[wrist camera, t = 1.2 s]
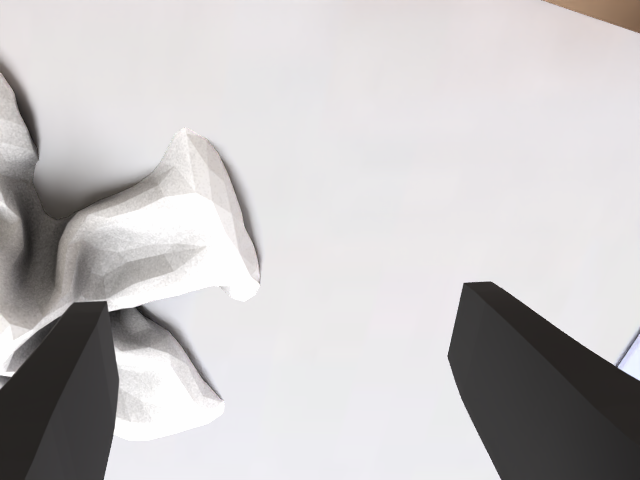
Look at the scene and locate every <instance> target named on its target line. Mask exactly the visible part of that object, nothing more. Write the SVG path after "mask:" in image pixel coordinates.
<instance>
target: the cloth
mask: <svg viewBox="0 0 640 480" xmlns="http://www.w3.org/2000/svg"><path fill="white" fill-rule="evenodd" d="M38 160H39V158H38V150H37V147H36V146H35V144H34V143H33V141H32V139H31V136H30V134H29V131H28V129H27V127H26V125H25V123H24V121H23V119H22V117H21V115H20V113H19V110H18V106H17V102H16V98H15V94H14V92H13V90H12V89H11V87H10V86H9V84H8V83H7V81H6V80H5V78H4V77H3V75H2V74H1V72H0V389H1V388H2V387H3V386H4V384H5V383H6V382H7V381H8V380H9V379H10V378H11V377H12V375H13V374H14V373H15V372H16V371H17V370H18V369H19V367H20V366H21V365H22V364H23V363H24V362H25V360H26V359H27V358H28V357H29V356H30V355H31V353H32V352H33V351H34V350H35V349H36V347H37V346H38V345H39V344H40V343H41V341H42V340H43V339H44V338H45V336H46V335H47V334H48V333H49V331H50V330H51V329H52V328H53V326H54V325H55V324H56V323H57V321H58V320H59V319H60V317H61V316H62V315H63V314H64V312H65V311H66V310H67V308H68V307H69V306H70V305H71V304H72V303H73V302H93V301H107V304H108V311H109V317H110V323H111V330H112V336H113V342H114V349H115V355H116V361H117V368H118V374H119V390H118V401H117V412H116V421H115V429H114V434H115V435H117V436H119V437H122V438H125V439H127V440H151V439H155V438H159V437H163V436H167V435H171V434H174V433H178V432H181V431H184V430H188V429H191V428H195V427H198V426H201V425H205V424H208V423H210V422H211V421H213V420H214V419H216V418H217V417H218V416H220V415H221V414H222V413H224V403H225V401H224V400H222V399H220V398H219V397H218V395H217V394H216V393H215V392H214V391H213V390H212V389H211V388H210V386H209V385H208V384H207V383H206V382H204V381H203V380H202V378H201V376H200V375H199V373H198V372H197V370H196V368H195V367H194V365H193V364H192V362H191V361H190V359H189V357H188V356H187V354H186V353H185V351H184V350H183V348H182V347H181V345H180V344H179V343H178V342H177V340H176V339H175V338H174V337H173V336H172V334H171V333H170V332H169V331H167V330H166V329H164V328H163V327H161V326H160V325H158V324H157V323H155V322H154V321H152V320H150V319H148V318H147V317H145V316H143V315H142V314H141V313H140V312H139V310H138V309H137V308H136V306H140V305H143V304H146V303H149V302H152V301H155V300H159V299H164V298H168V297H173V296H177V295H182V294H185V293H188V292H192V291H195V290H199V289H202V288H206V287H209V286H219V287H220V288H221V289H222V290H224V291H225V292H226V293H227V294H228V295H229V296H230V297H231V298H233V299H236V300H240V301H246V300H248V299H249V298H251V297H252V296H254V295H255V294H256V293H257V289H258V288H259V287H260V283H259V279H260V272H259V265H258V259H257V255H256V252H255V249H254V246H253V243H252V241H251V239H250V237H249V235H248V233H247V231H246V229H245V227H244V222H243V217H242V212H241V209H240V206H239V203H238V200H237V197H236V194H235V192H234V189H233V186H232V183H231V181H230V178H229V175H228V173H227V170H226V168H225V166H224V164H223V162H222V160H221V158H220V156H219V154H218V152H217V151H216V150H215V149H214V148H213V146H212V145H211V144H210V142H209V141H208V140H207V139H206V138H204V137H202V136H200V135H199V134H197V133H196V132H194V131H192V130H191V129H189V128H186V127H184V128H183V129H181V130H180V131H178V132H176V133H175V134H174V136H173V138H172V140H171V142H170V144H169V146H168V148H167V150H166V152H165V154H164V156H163V158H162V160H161V162H160V164H159V165H158V166H157V167H156V168H155V169H154V171H153V172H152V173H151V174H150V175H148V176H147V177H146V178H144V179H143V180H141V181H140V182H139V183H137V184H136V185H134V186H133V187H130V188H128V189H126V190H124V191H121V192H119V193H117V194H114V195H112V196H109V197H107V198H104V199H102V200H99V201H97V202H95V203H93V204H92V205H90V206H88V207H86V208H84V209H82V210H79V211H77V212H74V213H73V214H72V215H70V216H69V217H67V218H63V219H59V220H55V219H53V218H52V217H50V216H48V215H47V214H46V213H45V212H44V210H43V207H42V205H41V202H40V200H39V198H38V195H37V193H36V190H35V188H34V185H33V173H34V169H35V165H36V163H37V162H38Z"/></svg>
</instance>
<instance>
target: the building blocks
mask: <svg viewBox="0 0 640 480" xmlns="http://www.w3.org/2000/svg"><path fill="white" fill-rule="evenodd" d="M543 1H546V2H549V3H552V4H555V5H558V6H561V7H564V8H567V9H570V10H572V11H575V12H578V13H581V14H584V15H587V16H590V17H593V18H596V19H599V20H602V21H605V22H608V23H611V24H614V25H617V26H620V27H623V28H626V29H629V30H632V31H635V32H638V33H640V0H543Z"/></svg>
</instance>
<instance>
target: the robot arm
mask: <svg viewBox="0 0 640 480" xmlns="http://www.w3.org/2000/svg"><path fill="white" fill-rule="evenodd" d="M447 357H448V360H449V363H450V366H451V369H452V372H453V376H454V379H455V382H456V385H457V387H458V390H459V393H460V396H461V399H462V401H463V403H464V405H465V407H466V409H467V411H468V413H469V416H470V418H471V420H472V422H473V424H474V426H475V428H476V430H477V432H478V434H479V436H480V438H481V440H482V442H483V444H484V446H485V448H486V450H487V452H488V454H489V456H490V458H491V460H492V462H493V464H494V466H495V468H496V470H497V472H498V474H499V476H500V478H501V480H640V334H639V336H638V337H637V339H636V340H635V342H634V343H633V345H632V346H631V348H630V349H629V351H628V352H627V354H626V355H625V357H624V358H623V360H622V361H621V363H620V364H619V366H618V367H616V366H614V365H613V364H611V363H610V362H608V361H606V360H605V359H603V358H602V357H600V356H598V355H597V354H595V353H594V352H592V351H591V350H589V349H588V348H586V347H585V346H583V345H582V344H580V343H579V342H577V341H576V340H574V339H573V338H571V337H570V336H568V335H567V334H565V333H564V332H563V331H561V330H560V329H558V328H557V327H555V326H554V325H553V324H551V323H550V322H548V321H547V320H546V319H544V318H543V317H541V316H540V315H539V314H537V313H536V312H534V311H533V310H532V309H530V308H529V307H528V306H526V305H525V304H523V303H522V302H521V301H519V300H518V299H516V298H515V297H514V296H512V295H511V294H509V293H508V292H506V291H505V290H503V289H502V288H500V287H499V286H497V285H496V284H494V283H493V282H472V283H464V284H463V289H462V293H461V298H460V302H459V307H458V311H457V316H456V320H455V325H454V329H453V334H452V338H451V343H450V347H449V352H448V356H447ZM118 390H119V374H118V368H117V361H116V355H115V349H114V342H113V336H112V330H111V323H110V317H109V311H108V304H107V301H93V302H73V303H72V304H71V305H70V306H69V307H68V308H67V310H66V311H65V312H64V314H63V315H62V316H61V317H60V319H59V320H58V321H57V323H56V324H55V325H54V326H53V328H52V329H51V330H50V331H49V333H48V334H47V335H46V336H45V338H44V339H43V340H42V341H41V343H40V344H39V345H38V346H37V347H36V349H35V350H34V351H33V352H32V353H31V355H30V356H29V357H28V358H27V359H26V360H25V362H24V363H23V364H22V365H21V366H20V367H19V369H18V370H17V371H16V372H15V373H14V374H13V375H12V377H11V378H10V379H9V380H8V381H7V382H6V383H5V384H4V386H3V387H2V388H1V389H0V480H104V475H105V471H106V466H107V462H108V457H109V453H110V448H111V443H112V439H113V434H114V429H115V421H116V412H117V401H118Z"/></svg>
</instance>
